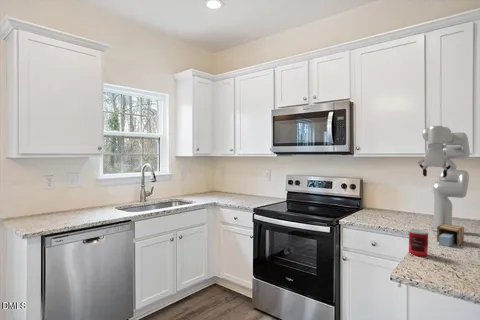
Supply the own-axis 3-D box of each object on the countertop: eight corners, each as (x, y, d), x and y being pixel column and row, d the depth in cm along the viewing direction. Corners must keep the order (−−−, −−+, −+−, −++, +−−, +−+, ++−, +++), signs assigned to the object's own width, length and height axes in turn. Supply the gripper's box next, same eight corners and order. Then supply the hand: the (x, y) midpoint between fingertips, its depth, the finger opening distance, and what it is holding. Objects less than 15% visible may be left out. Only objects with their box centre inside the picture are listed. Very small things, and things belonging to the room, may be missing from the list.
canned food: (420, 251, 145) (421, 229, 145) (431, 257, 137) (432, 233, 137) (404, 251, 145) (405, 228, 144) (415, 257, 137) (415, 233, 136)
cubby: (442, 237, 173) (442, 224, 173) (463, 241, 166) (463, 227, 166) (436, 241, 165) (437, 226, 165) (458, 245, 158) (459, 230, 158)
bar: (444, 241, 166) (444, 232, 166) (454, 243, 163) (454, 234, 163) (438, 245, 158) (439, 236, 158) (449, 247, 154) (449, 237, 154)
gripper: (455, 147, 169) (454, 177, 169) (420, 147, 182) (419, 175, 182) (451, 146, 164) (450, 177, 164) (416, 147, 177) (415, 175, 176)
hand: (434, 176), depth 173 cm, fingers open, 9 cm apart
